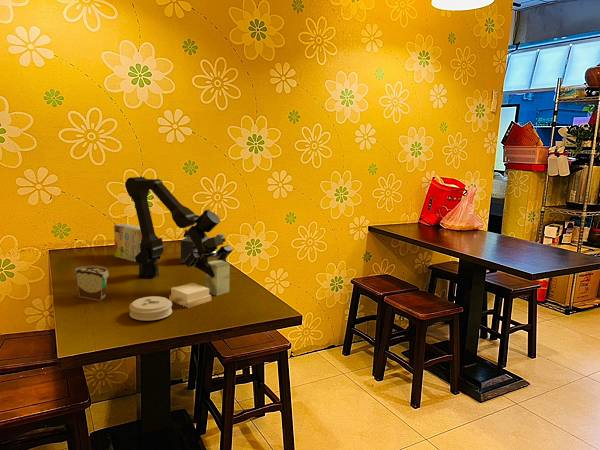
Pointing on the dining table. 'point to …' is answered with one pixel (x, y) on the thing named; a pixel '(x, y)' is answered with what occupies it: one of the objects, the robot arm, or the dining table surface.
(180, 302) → the tower base slab
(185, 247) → the small box
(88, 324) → the dining table surface
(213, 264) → the pillar block
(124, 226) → the snack box
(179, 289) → the tower top slab
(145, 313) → the lid
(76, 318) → the dining table surface
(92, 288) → the food container
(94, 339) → the dining table surface
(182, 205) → the robot arm
